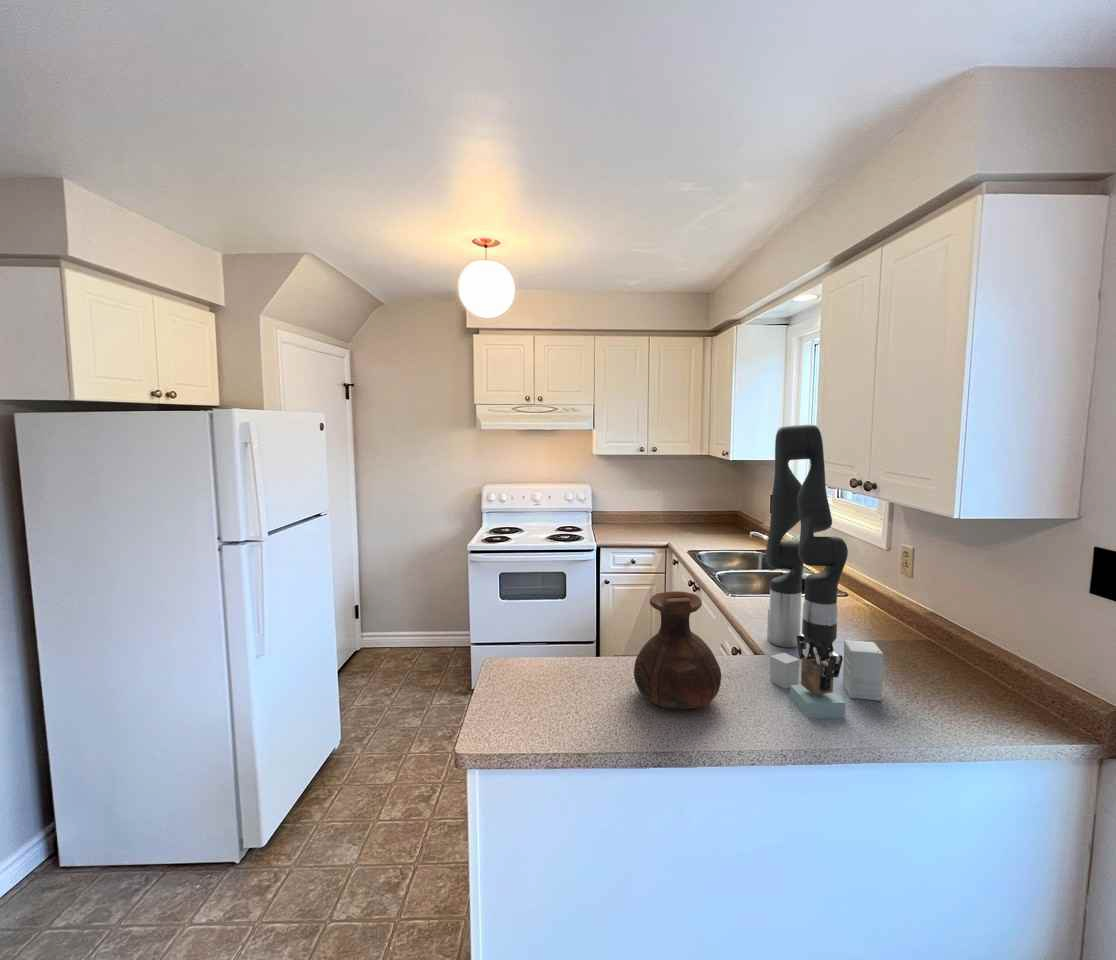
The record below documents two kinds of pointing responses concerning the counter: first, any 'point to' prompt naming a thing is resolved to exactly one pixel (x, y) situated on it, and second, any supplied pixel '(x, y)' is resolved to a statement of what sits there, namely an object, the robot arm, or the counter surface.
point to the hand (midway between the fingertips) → (817, 684)
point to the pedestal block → (817, 703)
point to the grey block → (784, 670)
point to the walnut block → (813, 676)
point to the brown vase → (677, 657)
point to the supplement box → (862, 670)
